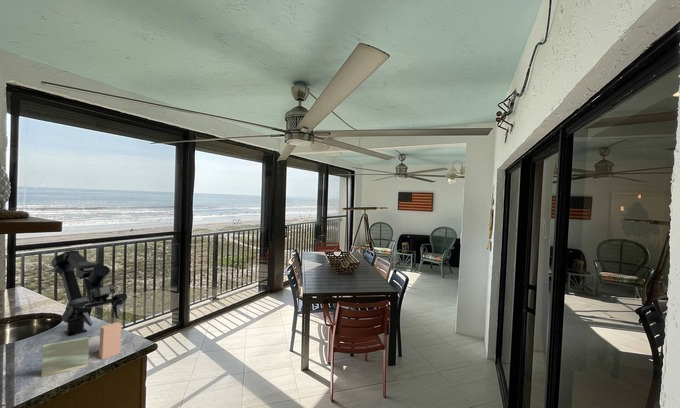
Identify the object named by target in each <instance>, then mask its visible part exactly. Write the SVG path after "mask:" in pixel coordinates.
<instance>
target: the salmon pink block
mask: <svg viewBox="0 0 680 408" xmlns="http://www.w3.org/2000/svg"><path fill="white" fill-rule="evenodd" d="M122 324H123V323H121V322H119V321H117V322H113V323H109V324H105V325H102V326H100V329H99V330H100V332H99V336H100V347H99V351H98V358H100V359H101V360H104V359H108V358H111V357H113V356H116V355H118V354H121V345H122V341H121V339H122V326H123V325H122Z"/></svg>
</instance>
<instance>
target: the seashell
mask: <svg viewBox="0 0 680 408" xmlns="http://www.w3.org/2000/svg"><path fill="white" fill-rule="evenodd" d="M99 347H100V334H99V335H97V334H96V335H94V336H91V338H89V343H88V353H89V354H92V353H95V352H99Z"/></svg>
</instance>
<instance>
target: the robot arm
mask: <svg viewBox="0 0 680 408" xmlns="http://www.w3.org/2000/svg"><path fill="white" fill-rule="evenodd" d="M50 264H51V267H52V268H53V270H54V272H55V273H56V274H59V275H60V276H61V280H62V283H63V287H64V290H65V294H66V298H67V304H66V306H65V310H64V312H63V313H62V316H61V321H62V322H65V323H66V324H67V328H66V329H67V330H64V331H63V334H65V335H66V336H68V337H72V336H76V335H79V334H83V333H87V332H88V329H86V328H85V323H86V324H87V325H88V326H89V327H91V326H92V325H93V322H92V319H91V314H92V311H93V310H92V308H96V307H101V306H105V305H108V304H111V305H112V306H111V307H112V310H113V313H114V317H115V318H116V319H119V318H120V310H121V309H120V308H121V306H122V305H123V304H124V303H125V302H126V301H127V299H128V295H127V293H125V292H121V293H117V294H115V295H113V297H112V298H111V297H110V295H112V293H114V292H117V287H116V284H115V283H111V284H108V285H107V286H104V285H103V283H104V281H105V280H106V279H107V277H108V275H109V274H110V271H111V269H110V267H108V266H107V265H105V264H103V262H98V263H96V262H93V261H88V260H87V259H86V258H85V257H84V256H83V255H82V254H81V253H80V251H79V250H67V251H64V252H63V253H61V254H59V255H56V256H54V258H52V259H51V262H50ZM77 278H78V279H79V280H83V279H85V280H84V281H83V284H82V288H84V289H85V293H86V296H83V295H82V292H81V289H80V286H79V283H78V280H77Z"/></svg>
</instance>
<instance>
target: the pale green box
mask: <svg viewBox="0 0 680 408" xmlns="http://www.w3.org/2000/svg"><path fill="white" fill-rule="evenodd" d="M89 337H90V336H87V337H79V338H75V339H69V340H65V341H64V340H63V341H58V342H52V343H47V344H43V345H42V358H41V359H42V360H41V361H42V363H41V378H44V377H48V376H54V375H58V374H62V373H66V372H70V371H75V370H79V369H83V368H88V363H89V357H90V353H88V343H89V339H90V338H89Z"/></svg>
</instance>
